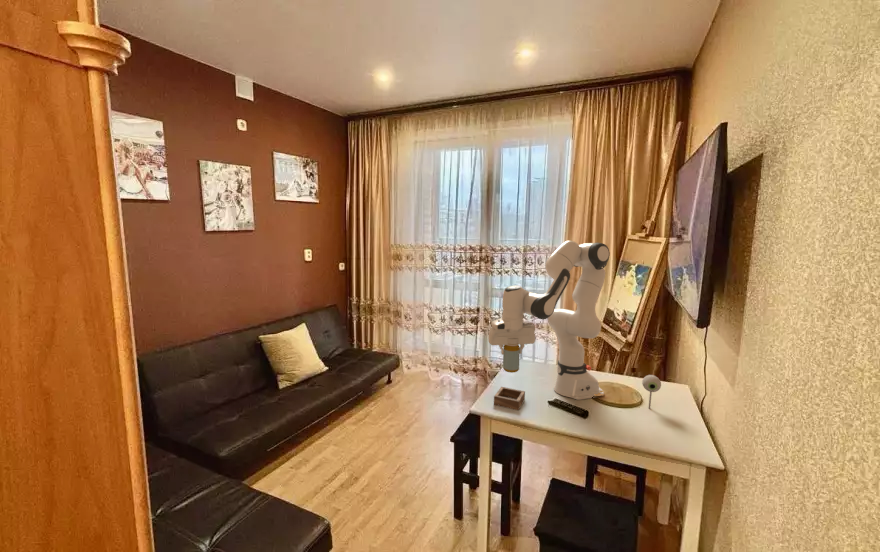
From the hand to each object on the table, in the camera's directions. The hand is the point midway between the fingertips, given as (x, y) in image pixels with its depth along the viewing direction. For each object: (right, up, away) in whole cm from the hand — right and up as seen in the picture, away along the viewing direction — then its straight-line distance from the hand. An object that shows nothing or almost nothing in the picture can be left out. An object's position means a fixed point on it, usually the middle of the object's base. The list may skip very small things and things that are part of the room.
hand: (511, 353), depth 167 cm
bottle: (0, -8, +1) cm, 8 cm away
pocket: (0, -22, +3) cm, 23 cm away
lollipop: (+60, -24, -2) cm, 64 cm away
